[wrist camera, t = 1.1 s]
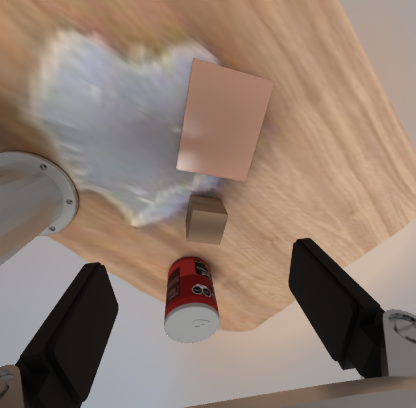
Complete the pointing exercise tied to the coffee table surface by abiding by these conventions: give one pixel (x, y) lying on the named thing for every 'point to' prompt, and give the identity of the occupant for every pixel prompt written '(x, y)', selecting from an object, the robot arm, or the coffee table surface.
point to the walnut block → (205, 220)
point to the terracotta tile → (222, 120)
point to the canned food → (190, 302)
